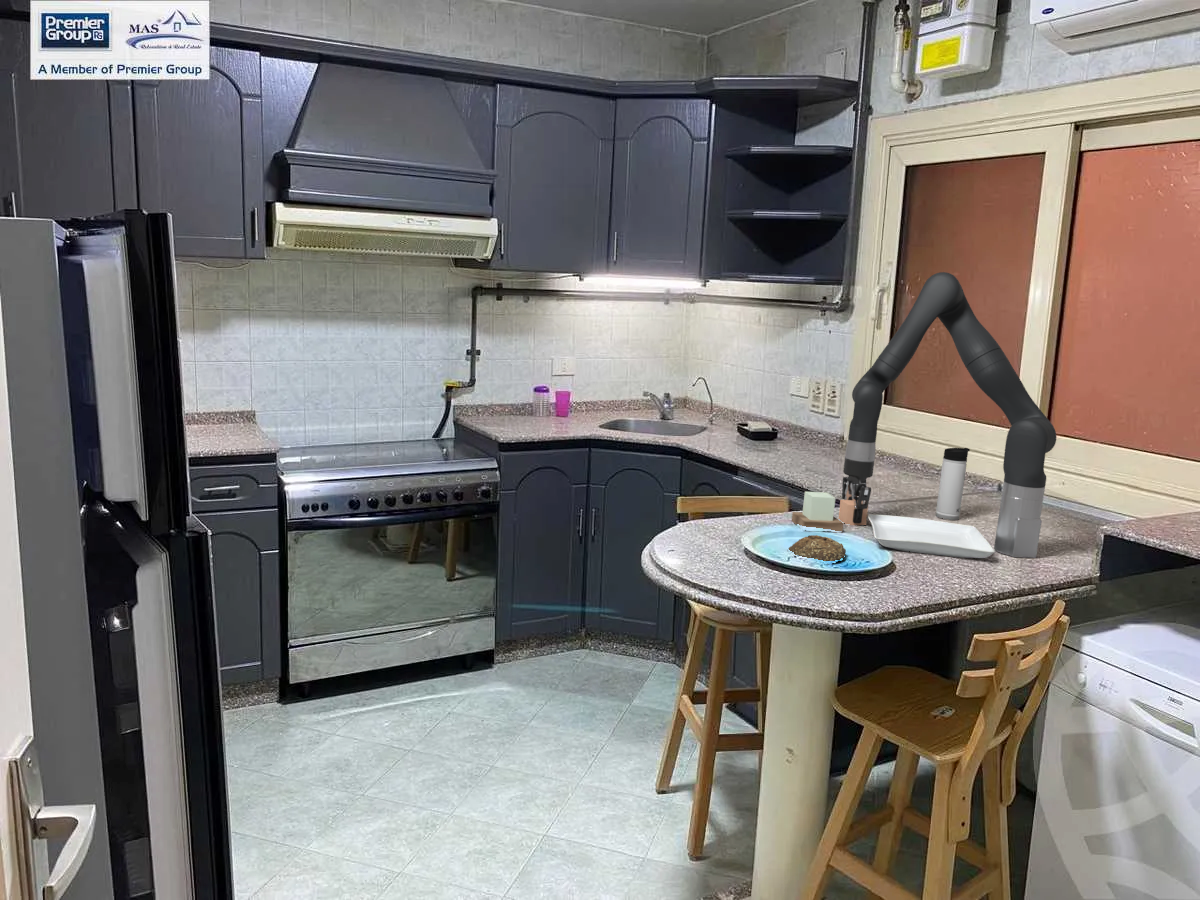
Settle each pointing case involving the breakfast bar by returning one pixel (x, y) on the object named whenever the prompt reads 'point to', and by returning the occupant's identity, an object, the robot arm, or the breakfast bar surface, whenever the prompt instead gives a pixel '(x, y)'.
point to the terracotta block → (850, 513)
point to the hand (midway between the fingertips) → (852, 519)
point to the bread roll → (818, 548)
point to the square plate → (930, 536)
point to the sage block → (818, 506)
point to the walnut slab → (816, 522)
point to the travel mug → (951, 483)
